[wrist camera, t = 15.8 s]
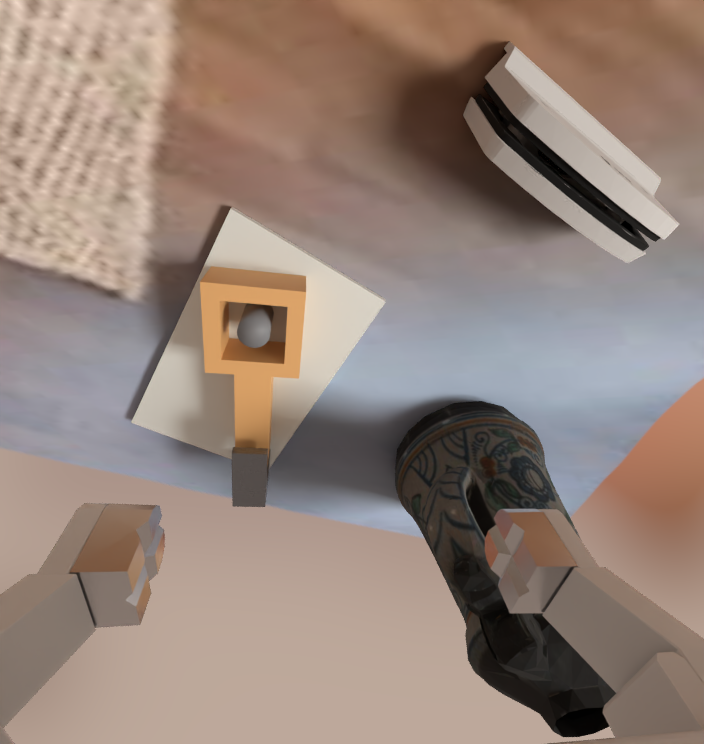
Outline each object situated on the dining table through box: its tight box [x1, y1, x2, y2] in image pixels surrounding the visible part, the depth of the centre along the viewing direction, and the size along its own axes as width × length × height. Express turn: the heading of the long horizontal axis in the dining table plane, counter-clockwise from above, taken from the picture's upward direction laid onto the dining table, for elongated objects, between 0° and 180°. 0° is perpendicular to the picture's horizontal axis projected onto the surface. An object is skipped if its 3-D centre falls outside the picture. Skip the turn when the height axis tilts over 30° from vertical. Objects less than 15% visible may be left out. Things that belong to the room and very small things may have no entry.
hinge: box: [463, 41, 679, 263], centre depth 28 cm, size 17×5×10 cm, turn 60°
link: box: [200, 266, 306, 466], centre depth 35 cm, size 18×8×4 cm, turn 172°
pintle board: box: [131, 207, 386, 468], centre depth 35 cm, size 14×23×5 cm, turn 147°
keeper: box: [232, 447, 271, 507], centre depth 39 cm, size 7×3×7 cm, turn 172°
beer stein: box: [395, 401, 616, 737], centre depth 35 cm, size 16×19×25 cm
